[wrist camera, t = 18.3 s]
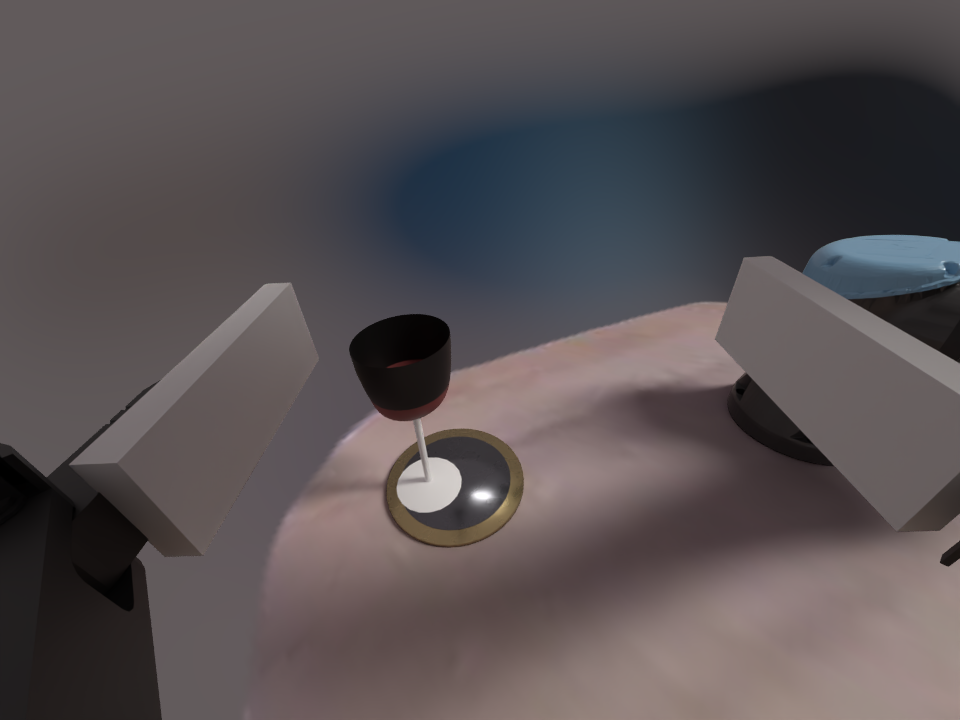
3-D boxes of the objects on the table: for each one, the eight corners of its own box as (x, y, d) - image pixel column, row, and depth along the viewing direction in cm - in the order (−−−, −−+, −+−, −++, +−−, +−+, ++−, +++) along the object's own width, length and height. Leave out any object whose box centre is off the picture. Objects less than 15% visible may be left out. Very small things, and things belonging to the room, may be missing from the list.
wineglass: (378, 485, 44) (331, 341, 32) (437, 444, 49) (414, 305, 37) (419, 531, 39) (382, 382, 28) (480, 480, 44) (469, 334, 32)
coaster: (493, 418, 53) (492, 414, 53) (548, 514, 41) (548, 511, 41) (378, 452, 49) (377, 449, 49) (401, 571, 37) (400, 568, 36)
